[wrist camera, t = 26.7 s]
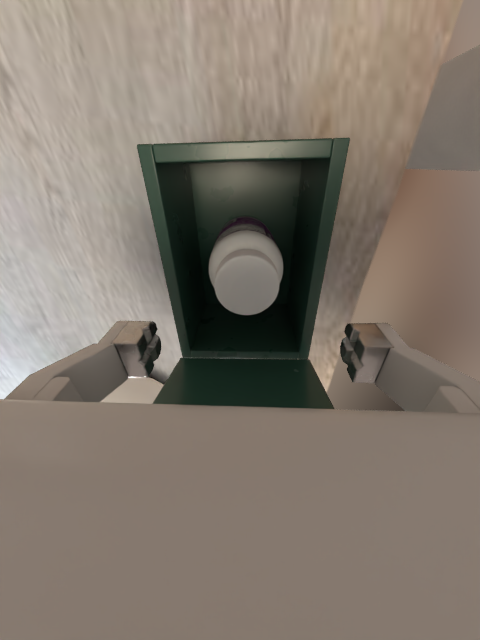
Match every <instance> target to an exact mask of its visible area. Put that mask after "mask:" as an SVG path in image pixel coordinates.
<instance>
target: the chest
mask: <svg viewBox="0 0 480 640" xmlns="http://www.w3.org/2000/svg"><path fill="white" fill-rule="evenodd" d="M349 141H350V138H333V139H332V138H324V139H292V140H261V141H230V142H198V143H167V144H138V145H137V149H138V153H139V158H140V163H141V167H142V172H143V177H144V181H145V186H146V190H147V195H148V200H149V204H150V209H151V213H152V218H153V223H154V227H155V232H156V237H157V241H158V246H159V250H160V255H161V260H162V264H163V269H164V273H165V278H166V283H167V287H168V292H169V296H170V301H171V306H172V310H173V315H174V320H175V324H176V329H177V333H178V338H179V343H180V347H181V352H182V356H183V358H191V357H192V358H247V359H308V356H309V350H310V345H311V340H312V335H313V330H314V324H315V319H316V314H317V309H318V303H319V298H320V293H321V288H322V282H323V277H324V272H325V267H326V261H327V256H328V251H329V246H330V240H331V235H332V230H333V225H334V220H335V214H336V209H337V204H338V199H339V193H340V188H341V183H342V178H343V172H344V167H345V162H346V157H347V151H348V146H349ZM241 216H249V217H253V218H256V219H258V220H260V221H261V222H263V223H264V224H265V225H266V226H267V228H268V229H269V231H270V232H271V234H272V236H273V238H274V240H275V242H276V244H277V246H278V248H279V250H280V252H281V255H282V259H283V267H284V268H283V276H282V279H281V282H280V284H279V291H278V294H277V297H276V299H275V300H274V302H273V303H272V304H271V305H270V306H269V307H268V308H267V309H265V310H264V311H262V312H260V313H257V314H253V315H240V314H236V313H233V312H231V311H229V310H228V309H226V308H225V307H224V306H223V305H222V304H221V303H220V302H219V300H218V298H217V296H216V293H215V289H214V287H213V285H212V283H211V280H210V276H209V259H210V256H211V253H212V250H213V247H214V245H215V242H216V239H217V237H218V235H219V232H220V231H221V229H222V228H223V226H224V225H225V224H226V223H227V222H229V221H230V220H232V219H234V218H237V217H241Z"/></svg>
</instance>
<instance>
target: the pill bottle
mask: <svg viewBox="0 0 480 640" xmlns="http://www.w3.org/2000/svg"><path fill="white" fill-rule="evenodd" d="M283 268H284V267H283V259H282V255H281V252H280V250H279V248H278V246H277V244H276V242H275V240H274V238H273V236H272V234H271V232H270V231H269V229H268V228H267V226H266V225H265V224H264V223H263V222H261V221H260V220H258V219H256V218H253V217H249V216H241V217H237V218H234V219H232V220H230V221H229V222H227V223H226V224H225V225H224V226H223V228H222V229H221V231H220V232H219V235H218V237H217V239H216V242H215V245H214V247H213V250H212V253H211V256H210V259H209V276H210V280H211V283H212V285H213V287H214V289H215V293H216V296H217V298H218V300H219V302H220V303H221V304H222V305H223V306H224V307H225V308H226V309H228V310H229V311H231V312H233V313H236V314H240V315H253V314H257V313H260V312H262V311H264V310H265V309H267V308H268V307H269V306H270V305H271V304H272V303H273V302H274V300H275V299H276V297H277V294H278V291H279V284H280V282H281V279H282V276H283Z"/></svg>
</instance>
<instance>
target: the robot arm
mask: <svg viewBox="0 0 480 640" xmlns="http://www.w3.org/2000/svg"><path fill="white" fill-rule="evenodd" d="M156 331H157V327H156V324H155V323H154V322H153V321H117V322H116V323H115V324H114V326H113V327H112V328H111V329H110V330H109V331H108V332H107V333H106V335H105V336H104V337H103V338H102V339H101V340H100V341H99V343H98V344H92V345H90V346H88V347H86V348H84V349H82V350H80V351H78V352H76V353H74V354H72V355H70V356H68V357H65V358H63V359H61V360H59V361H57V362H55V363H53V364H51V365H49V366H47V367H45V368H43V369H41V370H39V371H37V372H35V373H33V374H31V375H29V376H28V377H27V378H26V379H25V380H24V381H23V382H22V383H21V384H20V385H19V386H18V387H16V388H15V389H14V390H13V391H12V392H11V393H10V394H9V395H8V396H7V397H6V398H5V399H0V640H480V382H479V381H477V380H476V379H474V378H472V377H470V376H468V375H466V374H464V373H462V372H460V371H458V370H456V369H454V368H452V367H450V366H448V365H446V364H444V363H442V362H440V361H438V360H436V359H434V358H432V357H430V356H428V355H426V354H424V353H422V352H420V351H418V350H416V349H414V348H409V347H408V346H407V345H406V344H405V342H404V341H403V340H402V339H401V338H400V336H399V335H398V334H397V333H396V332H395V330H394V329H393V328H392V327H391V326H390V325H389V324H388V323H367V324H366V323H359V324H358V323H356V324H355V323H354V324H347V326H346V328H345V331H344V332H345V334H346V337H345V338H344V339H343V340H342V342H341V346H340V353H341V357H342V360H343V362H344V363H346V364H347V365H348V368H347V371H348V373H349V375H350V378H351V380H352V382H359V383H375V385H376V386H377V387H379V388H380V389H381V390H382V391H383V392H384V393H386V394H387V395H388V396H389V397H390V398H391V399H392V400H394V401H395V402H396V403H397V404H398V405H400V406H401V407H402V408H403V409H404V410H405V411H375V410H341V409H339V410H338V409H310V408H278V407H244V406H209V405H175V404H142V403H108V402H101V401H102V400H103V399H104V398H105V397H107V396H108V395H109V394H110V393H112V392H113V391H114V390H115V389H116V388H118V387H119V386H120V385H121V384H123V383H124V382H125V381H126V380H127V379H128V378H134V377H149V375H150V373H151V371H152V369H153V367H154V363H153V361H155V360H156V359H158V357H159V355H160V352H161V341H160V338H159V337H158V336H157V335H156V334H155V333H156Z"/></svg>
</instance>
